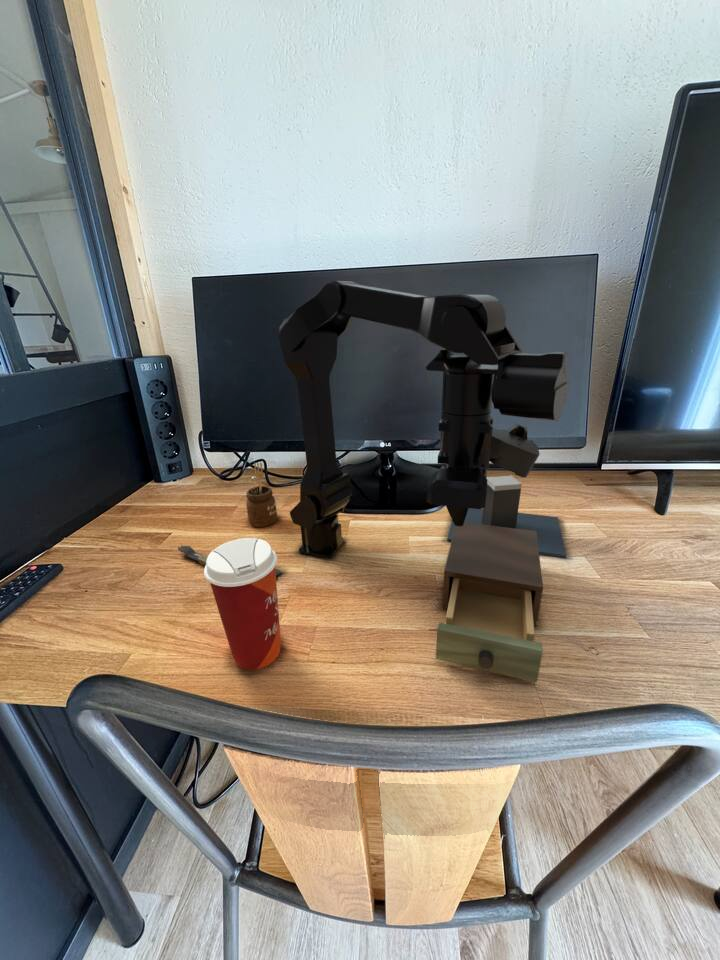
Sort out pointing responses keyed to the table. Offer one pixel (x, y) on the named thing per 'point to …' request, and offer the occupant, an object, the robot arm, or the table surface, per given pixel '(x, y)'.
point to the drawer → (490, 630)
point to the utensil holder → (260, 503)
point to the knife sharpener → (502, 501)
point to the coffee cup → (247, 599)
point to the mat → (543, 525)
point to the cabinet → (495, 559)
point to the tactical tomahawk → (201, 558)
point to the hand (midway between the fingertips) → (458, 524)
